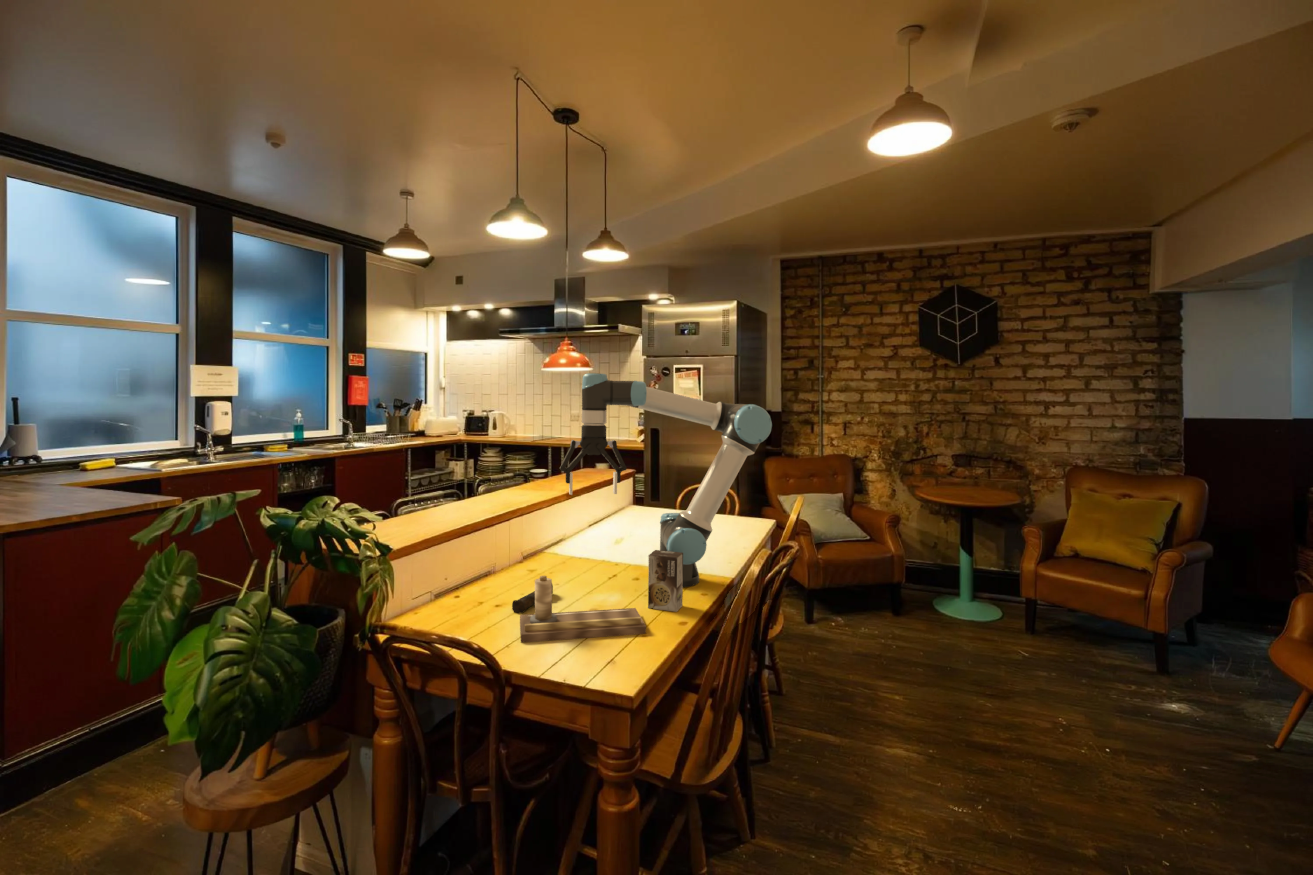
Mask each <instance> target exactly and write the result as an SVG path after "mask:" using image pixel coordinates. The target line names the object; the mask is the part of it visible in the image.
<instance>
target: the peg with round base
mask: <svg viewBox="0 0 1313 875" xmlns="http://www.w3.org/2000/svg"><path fill="white" fill-rule="evenodd" d="M552 585H553V580H552V578H548V576H547V575H539V578H536V579H535V580H534V591H535V604H534V614H535V615H533V616H531V617H530V623H531V624H534V623H550V622H557V616H556V615H555V614H552V613H553V604H552V603H553V594H552Z"/></svg>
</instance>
